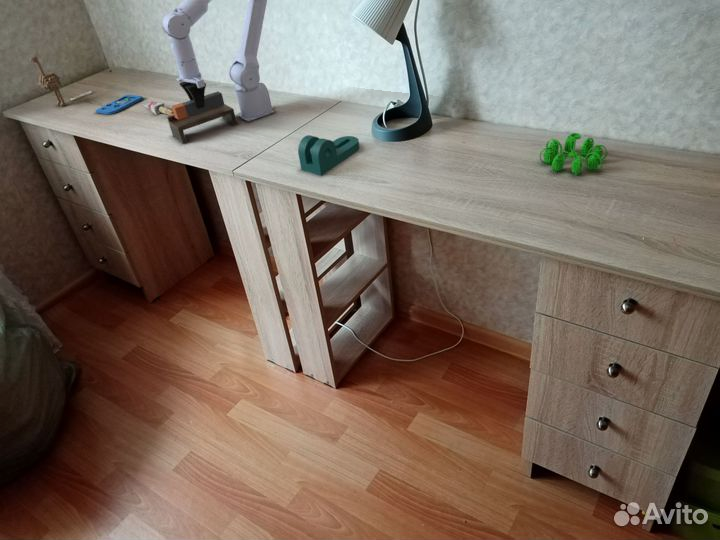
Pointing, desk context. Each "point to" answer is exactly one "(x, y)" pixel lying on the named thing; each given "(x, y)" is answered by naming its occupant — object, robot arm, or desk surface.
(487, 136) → the desk surface
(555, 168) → the chandelier
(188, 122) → the shelf
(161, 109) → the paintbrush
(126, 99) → the handheld gaming device
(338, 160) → the bracket
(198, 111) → the marker
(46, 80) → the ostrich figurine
